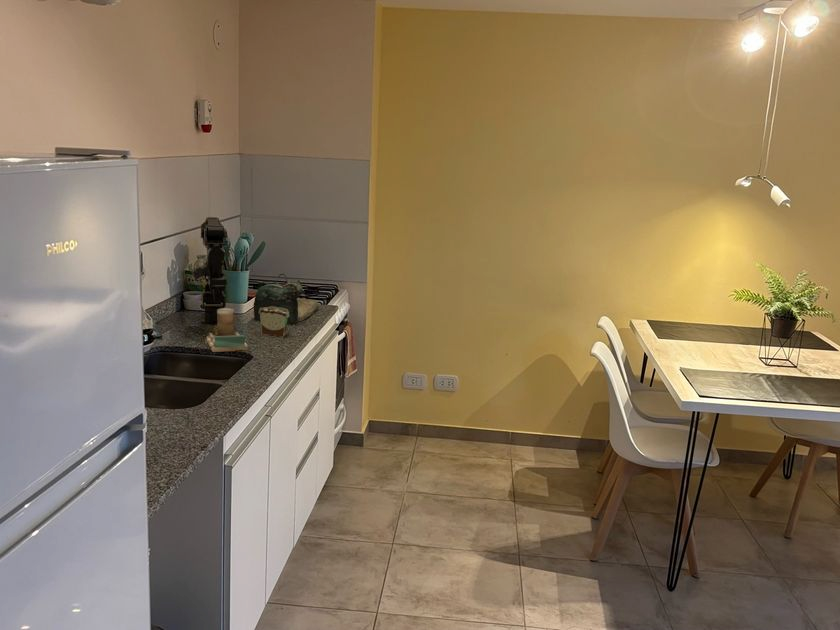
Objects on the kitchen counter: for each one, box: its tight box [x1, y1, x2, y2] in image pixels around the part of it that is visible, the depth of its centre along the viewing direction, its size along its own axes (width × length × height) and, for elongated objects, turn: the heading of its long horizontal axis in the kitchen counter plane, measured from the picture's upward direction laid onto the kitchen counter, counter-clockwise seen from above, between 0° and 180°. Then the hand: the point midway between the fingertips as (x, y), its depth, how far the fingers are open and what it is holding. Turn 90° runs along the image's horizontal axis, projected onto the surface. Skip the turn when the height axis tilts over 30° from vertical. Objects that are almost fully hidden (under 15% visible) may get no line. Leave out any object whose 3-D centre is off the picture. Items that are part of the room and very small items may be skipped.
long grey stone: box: [297, 297, 319, 322], centre depth 331 cm, size 35×5×10 cm
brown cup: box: [215, 307, 235, 336], centre depth 275 cm, size 6×6×10 cm
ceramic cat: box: [253, 273, 304, 325], centre depth 311 cm, size 20×6×20 cm, turn 76°
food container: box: [258, 306, 289, 338], centre depth 292 cm, size 12×6×10 cm, turn 71°
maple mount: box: [206, 331, 249, 353], centre depth 274 cm, size 16×12×5 cm
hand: (215, 299), depth 291 cm, fingers open, 9 cm apart
